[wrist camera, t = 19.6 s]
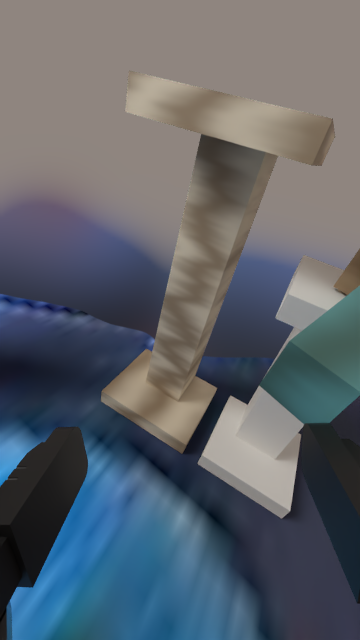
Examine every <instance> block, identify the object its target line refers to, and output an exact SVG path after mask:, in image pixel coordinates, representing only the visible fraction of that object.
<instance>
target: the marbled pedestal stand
mask: <svg viewBox="0 0 360 640" xmlns="http://www.w3.org/2000/svg"><path fill="white" fill-rule="evenodd" d="M126 112H128V113H131V114H135V115H138V116H142V117H145V118H148V119H152V120H155V121H159V122H162V123H166V124H169V125H173V126H176V127H180V128H183V129H187V130H190V131H194V132H197V133H201V138H200V142H199V147H198V151H197V156H196V160H195V165H194V169H193V174H192V178H191V182H190V187H189V191H188V196H187V200H186V205H185V209H184V214H183V218H182V223H181V227H180V231H179V236H178V240H177V245H176V249H175V254H174V258H173V263H172V267H171V271H170V276H169V280H168V285H167V289H166V294H165V298H164V302H163V307H162V311H161V316H160V320H159V325H158V329H157V333H156V338H155V342H154V347H153V351H152V352H151V351H150V350H148V349H146V350H145V351H144V352H142V353H141V354H140V355H139V356H138V357H137V358H136V359H135V360H134V361H133V362H132V363H131V364H130V365H129V366H128V367H127V368H126V369H125V370H123V371H122V372H121V373H120V374H119V375H118V376H117V377H116V378H115V379H114V380H113V381H112V382H111V383H110V384H109V385H108V386H107V387H106V388H104V389H103V390H102V394H101V401H102V402H103V403H105V404H106V405H108V406H109V407H111V408H112V409H114V410H115V411H117V412H118V413H120V414H122V415H123V416H125V417H126V418H128V419H129V420H131V421H132V422H134V423H135V424H137V425H138V426H140V427H142V428H143V429H145V430H146V431H148V432H149V433H151V434H152V435H154V436H155V437H157V438H158V439H160V440H162V441H163V442H165V443H166V444H168V445H169V446H171V447H172V448H174V449H175V450H177V451H178V452H180V453H183V452H184V450H185V448H186V446H187V444H188V442H189V441H190V439H191V437H192V435H193V433H194V431H195V430H196V428H197V426H198V424H199V422H200V420H201V419H202V417H203V415H204V413H205V411H206V409H207V408H208V406H209V404H210V402H211V400H212V398H213V397H214V394H215V392H216V390H217V388H216V387H214V386H213V385H211V384H209V383H207V382H205V381H204V380H202V379H200V378H198V377H196V376H195V374H196V372H197V369H198V366H199V364H200V361H201V358H202V356H203V353H204V350H205V348H206V345H207V343H208V340H209V337H210V335H211V332H212V329H213V327H214V324H215V321H216V319H217V316H218V313H219V311H220V308H221V305H222V303H223V300H224V297H225V295H226V292H227V290H228V287H229V284H230V282H231V279H232V276H233V274H234V271H235V268H236V266H237V263H238V261H239V258H240V255H241V253H242V250H243V247H244V244H245V242H246V239H247V237H248V234H249V231H250V229H251V226H252V224H253V221H254V218H255V215H256V213H257V210H258V208H259V205H260V202H261V200H262V197H263V194H264V192H265V189H266V186H267V184H268V181H269V179H270V176H271V173H272V171H273V168H274V165H275V163H276V160H277V157H278V156H281V157H285V158H288V159H291V160H295V161H298V162H302V163H306V164H309V165H315V166H317V165H318V166H321V165H322V163H323V161H324V159H325V157H326V155H327V153H328V150H329V148H330V146H331V144H332V142H333V140H334V138H335V132H334V125H333V119H331V118H327V117H323V116H319V115H314V114H310V113H306V112H302V111H298V110H293V109H289V108H285V107H280V106H276V105H272V104H268V103H263V102H259V101H255V100H251V99H246V98H243V97H238V96H234V95H230V94H226V93H222V92H217V91H213V90H209V89H205V88H200V87H196V86H192V85H187V84H183V83H179V82H175V81H171V80H166V79H162V78H158V77H154V76H150V75H145V74H141V73H137V72H133V71H129V76H128V89H127V100H126Z"/></svg>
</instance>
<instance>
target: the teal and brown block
mask: <svg viewBox="0 0 360 640" xmlns="http://www.w3.org/2000/svg"><path fill="white" fill-rule="evenodd" d="M333 287H335V288H337V289H338V290H340V291H342V292H344V293H345V294H347V296H346V297H344V298H343V299H342V300H341V301H339V302H338V303H337V304H336V305H334V306H333V307H332V308H330V309H329V310H328V311H327V312H325V313H324V314H323V315H322V316H320V317H319V318H318V319H316V320H315V321H314V322H313V323H311V324H310V325H309V326H308V327H306V328H305V329H304V330H302V331H301V332H300V333H299V334H297V335H296V336H295V337H294V338H292V339H291V340H290V341H289V342H288V344H287V345H286V347H285V348H284V349H283V351H282V352H281V354H280V355H279V357H278V358H277V360H276V361H275V363H274V364H273V365H272V367H271V368H270V370H269V371H268V373H267V374H266V376H265V377H264V379H263V380H262V382H261V383H260V384H259V386H260V387H261V388H263V389H264V390H265V391H266V392H267V393H268V394H270V395H271V396H272V397H273V398H274V399H275V400H276V401H278V402H279V403H280V404H281V405H282V406H283V407H284V408H286V409H287V410H288V411H289V412H290V413H291V414H293V415H294V416H295V417H296V418H297V419H298V420H299V421H301V422H302V423H303V424H305V423H330V422H331V421H332V420H333V419H334V418H335V417H336V416H337V415H339V414H340V413H341V412H342V411H343V410H344V409H345V408H346V407H347V406H349V405H350V404H351V403H352V402H353V401H354V400H355V399H356V398H357V397H359V396H360V249H359V251H358V252H357V253H356V255H355V256H354V258H353V259H352V261H351V262H350V263H349V265H348V266H347V268H346V269H345V270H344V272H343V273H342V275H341V276H340V278H339V279H338V280H337V282H336V283H335V285H334V286H333Z"/></svg>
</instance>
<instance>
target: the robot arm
mask: <svg viewBox="0 0 360 640" xmlns="http://www.w3.org/2000/svg"><path fill="white" fill-rule="evenodd" d="M301 463H302V470H303V474H304V477H305V480H306V483H307V485H308V487H309V490H310V492H311V495H312V497H313V499H314V502H315V504H316V506H317V509H318V511H319V514H320V516H321V518H322V521H323V523H324V526H325V528H326V530H327V533H328V535H329V537H330V540H331V542H332V545H333V547H334V549H335V552H336V554H337V556H338V559H339V561H340V564H341V566H342V568H343V571H344V573H345V575H346V578H347V580H348V583H349V585H350V587H351V590H352V592H353V594H354V597H355V599H356V602H357V603H360V447H359V446H358V445H357V444H355V443H354V442H353V441H351V440H350V439H340V437H339V436H338V434H337V433H336V432H335V430H334V429H333V427H332V426H331V425H330V424H329V423H305V424H304V426H303V439H302V456H301ZM87 469H88V460H87V455H86V451H85V446H84V442H83V438H82V433H81V430H80V428H79V427H58V428H56V429H55V430H54V431H53V432H52V434H51V435H50V436H49V438H48V439H47V440H46V442H41V443H40V444H39V445H37V446H36V447H35V448H33V449H32V450H31V451H30V452H28V453H27V454H26V455H25V457H24V458H23V459H22V460H21V462H20V463H19V464H18V465H17V468H16V469H14V470H13V472H12V473H11V474H10V475H9V477H8V480H5V482H4V483H3V484H2V485H1V487H0V640H12V613H11V603H10V599H11V597H12V595H13V593H14V591H15V589H16V588H17V587H33V586H34V584H35V582H36V580H37V578H38V576H39V573H40V571H41V569H42V567H43V565H44V563H45V561H46V559H47V557H48V555H49V553H50V551H51V548H52V546H53V544H54V542H55V540H56V538H57V536H58V534H59V532H60V530H61V528H62V526H63V523H64V521H65V519H66V517H67V515H68V513H69V511H70V509H71V507H72V505H73V503H74V501H75V498H76V496H77V494H78V492H79V490H80V488H81V486H82V484H83V482H84V480H85V477H86V474H87Z"/></svg>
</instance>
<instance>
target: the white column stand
mask: <svg viewBox="0 0 360 640" xmlns="http://www.w3.org/2000/svg"><path fill="white" fill-rule="evenodd" d="M343 272H344V270H342V269H339V268H336V267H334V266H331V265H329V264H326V263H324V262H321V261H318V260H315V259H313V258H310V257H308V256H305V255H304V256H303V258H302V260H301V261H300V264H299V265H298V267H297V269H296V271H295V273H294V275H293V277H292V280H291V282H290V285H289V287H288V289H287V292H286V294H285V296H284V299H283V301H282V304H281V306H280V308H279V311H278V313H277V316H276V319H278V320H280V321H282V322H285V323H287V324H289V325H291V326H294V329H293V330H292V332H291V334H290V335H289V337H288V338H287V340H286V342H285V343H284V345H283V347H282V349H281V350H280V352H279V353H278V355H277V357H276V358H275V360H274V362H273V363H272V365H273V364H274V363H275V361H276V360H277V358H278V357H279V355H280V354H281V352H282V351H283V349H284V348H285V347H286V345H287V344H288V342H289V341H290V340H291V339H292V338H294V337H295V336H296V335H297V334H299V333H300V332H301V331H302V330H304V329H305V328H306V327H308V326H309V325H310V324H311V323H313V322H314V321H315V320H316V319H318V318H319V317H320V316H322V315H323V314H324V313H325V312H327V311H328V310H329V309H330V308H332V307H333V306H334V305H336V304H337V303H338V302H339V301H341V300H342V299H343V298H344V297H346V296H347V294H345V293H344V292H342V291H340V290H338V289H337V288H335V287H333V286H334V285H335V283H336V282H337V280H338V279H339V278H340V276H341V275H342V273H343ZM272 365H271V367H272ZM271 367H270V368H271ZM270 368H269V370H270ZM269 370H268V371H269ZM267 373H268V372H267ZM267 373H266V374H267ZM265 376H266V375H265ZM263 379H264V378H263ZM303 426H304V424H303V423H302V422H301V421H299V420H298V419H297V418H296V417H295V416H294V415H293V414H291V413H290V412H289V411H288V410H287V409H286V408H284V407H283V406H282V405H281V404H280V403H279V402H278V401H276V400H275V399H274V398H273V397H272V396H271V395H270V394H268V393H267V392H266V391H265V390H264V389H263V388H261V387H260V386H259V387H258V388H257V390H256V392H255V393H254V395H253V397H252V398H251V400H250V402H249V403H248V405H247V404H245V403H243V402H241V401H240V400H238V399H236V398H234V397H232V396H231V395H230V397H229V399H228V401H227V403H226V405H225V407H224V409H223V411H222V413H221V415H220V417H219V419H218V422H217V424H216V426H215V428H214V430H213V432H212V434H211V436H210V438H209V440H208V443H207V445H206V447H205V449H204V451H203V453H202V455H201V457H200V459H199V461H198V465H200V466H202V467H203V468H205V469H206V470H208V471H209V472H211V473H212V474H214V475H215V476H217V477H218V478H220V479H222V480H223V481H225V482H226V483H228V484H229V485H231V486H232V487H234V488H235V489H237V490H238V491H240V492H242V493H243V494H245V495H246V496H248V497H249V498H251V499H252V500H254V501H255V502H257V503H258V504H260V505H262V506H263V507H265V508H266V509H268V510H269V511H271V512H272V513H274V514H275V515H277V516H278V517H280V518H283V517H284V516H285V515H286V514H288V513H289V512H290V510H291V503H292V496H293V489H294V482H295V475H296V468H297V461H298V453H299V446H300V439H301V434H299V433H298V432H299V431H300V430H301V428H302V427H303Z"/></svg>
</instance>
